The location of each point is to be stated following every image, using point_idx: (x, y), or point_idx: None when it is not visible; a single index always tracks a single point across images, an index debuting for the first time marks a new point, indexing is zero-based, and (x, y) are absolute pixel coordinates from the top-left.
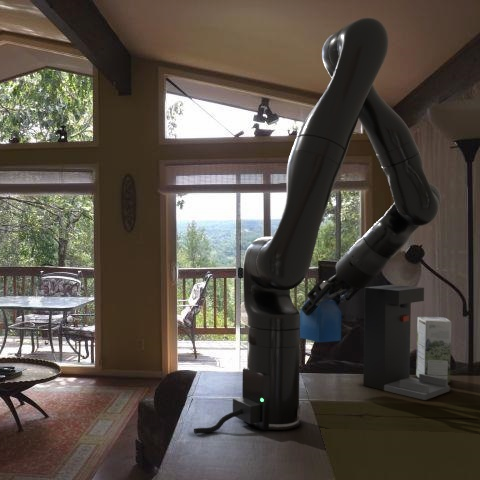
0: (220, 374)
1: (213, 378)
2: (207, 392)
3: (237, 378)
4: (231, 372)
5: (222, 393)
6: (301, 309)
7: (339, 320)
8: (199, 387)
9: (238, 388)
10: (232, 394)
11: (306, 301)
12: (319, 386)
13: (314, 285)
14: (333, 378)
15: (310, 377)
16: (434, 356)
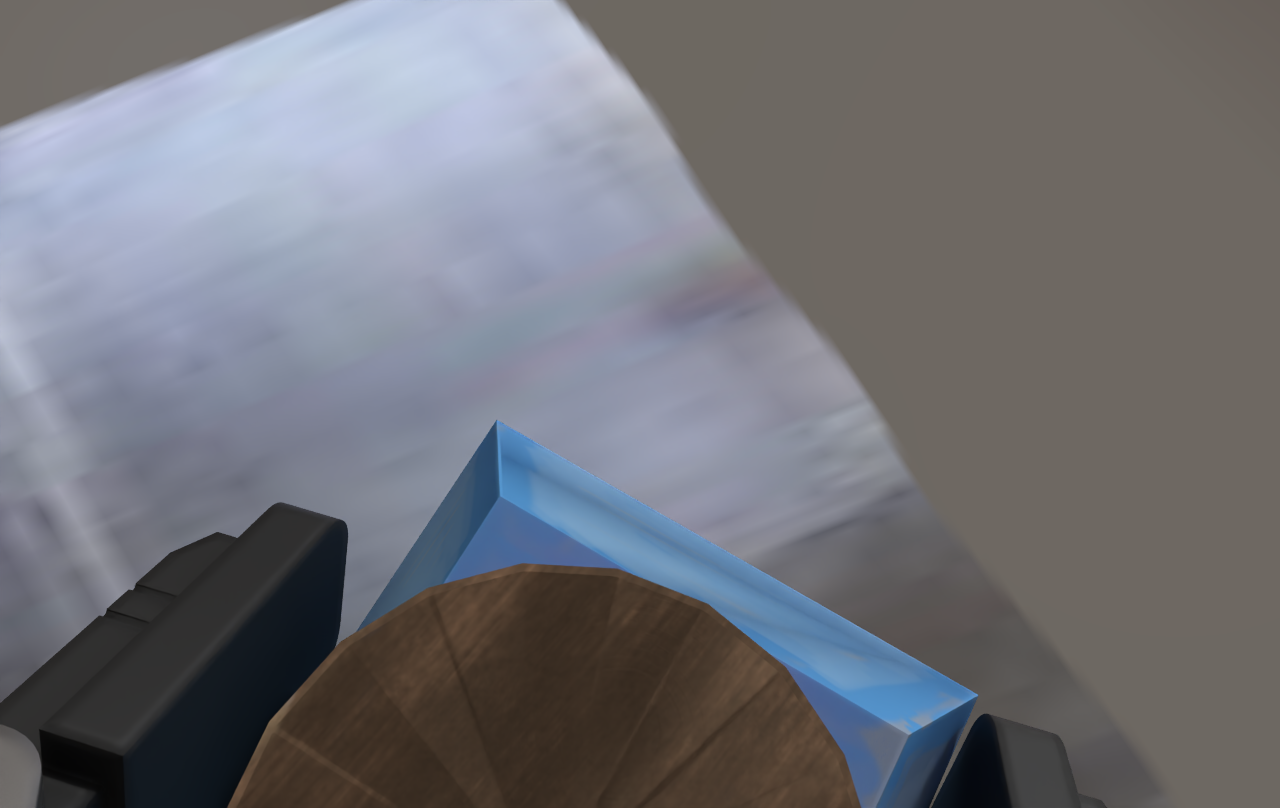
0: (513, 58)
1: (388, 69)
2: (44, 186)
3: (480, 183)
4: (609, 87)
5: (65, 266)
6: (487, 440)
7: None
8: (132, 100)
9: (234, 294)
10: (72, 325)
11: (492, 485)
12: None
13: (352, 653)
14: (950, 768)
15: (849, 593)
16: None
